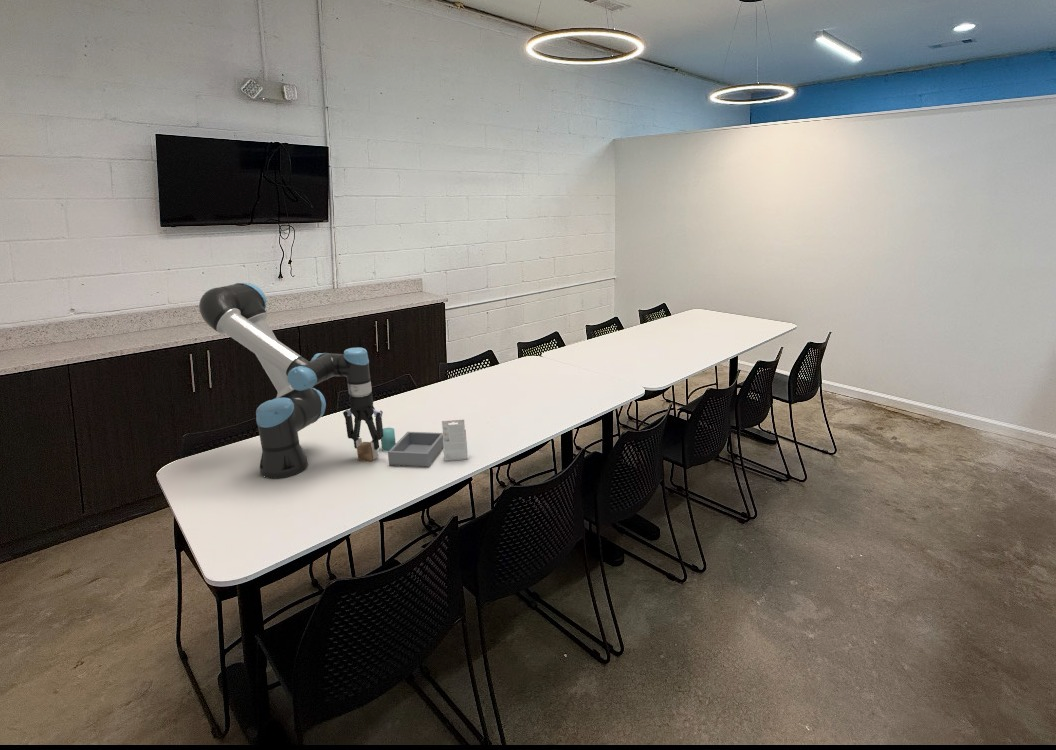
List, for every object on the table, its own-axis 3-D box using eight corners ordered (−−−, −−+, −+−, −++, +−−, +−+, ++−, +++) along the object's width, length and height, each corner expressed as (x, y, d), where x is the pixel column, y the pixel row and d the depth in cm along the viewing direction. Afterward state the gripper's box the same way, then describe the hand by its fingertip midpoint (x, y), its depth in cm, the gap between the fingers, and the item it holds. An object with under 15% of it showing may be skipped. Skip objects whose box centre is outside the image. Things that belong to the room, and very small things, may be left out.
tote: (389, 465, 197) (387, 452, 196) (408, 444, 214) (407, 431, 213) (428, 467, 195) (427, 453, 194) (445, 445, 212) (444, 433, 210)
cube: (358, 460, 202) (356, 447, 201) (364, 454, 207) (363, 441, 205) (371, 461, 201) (370, 448, 200) (378, 455, 206) (376, 442, 204)
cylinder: (379, 450, 210) (377, 432, 208) (385, 445, 214) (383, 427, 212) (392, 451, 209) (390, 433, 207) (398, 445, 214) (396, 427, 212)
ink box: (444, 457, 203) (441, 417, 198) (467, 455, 203) (464, 415, 199) (444, 461, 199) (441, 421, 195) (467, 459, 200) (465, 419, 196)
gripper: (330, 396, 195) (339, 460, 202) (380, 398, 192) (387, 463, 199) (341, 389, 202) (349, 451, 209) (389, 390, 199) (396, 453, 206)
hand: (368, 457), depth 204 cm, fingers closed on cube, 5 cm apart
